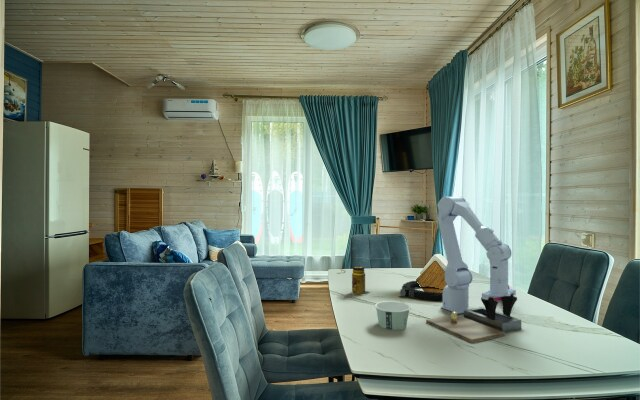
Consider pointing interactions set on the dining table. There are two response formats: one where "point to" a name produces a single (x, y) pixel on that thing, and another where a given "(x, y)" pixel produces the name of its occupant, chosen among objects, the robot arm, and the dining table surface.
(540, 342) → the dining table surface
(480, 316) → the grey shallow tray
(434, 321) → the board
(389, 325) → the food container
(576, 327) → the dining table surface
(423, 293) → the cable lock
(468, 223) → the robot arm
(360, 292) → the condiment
